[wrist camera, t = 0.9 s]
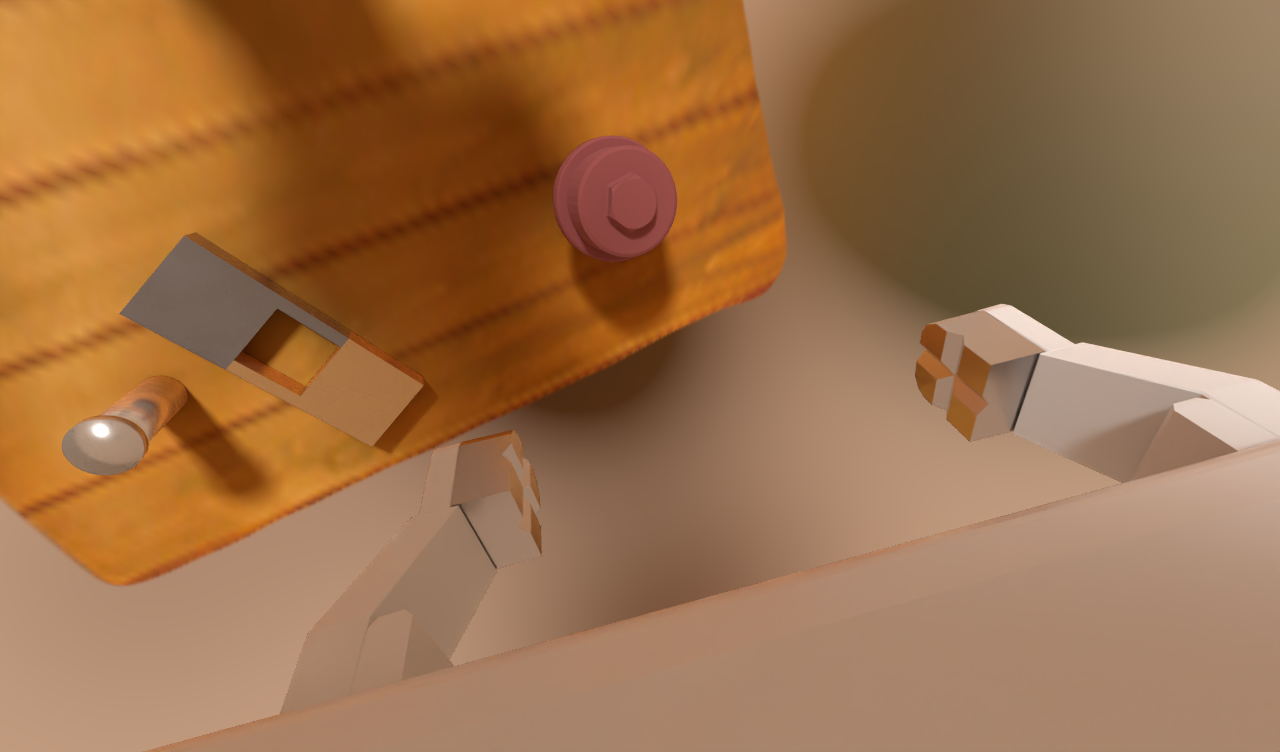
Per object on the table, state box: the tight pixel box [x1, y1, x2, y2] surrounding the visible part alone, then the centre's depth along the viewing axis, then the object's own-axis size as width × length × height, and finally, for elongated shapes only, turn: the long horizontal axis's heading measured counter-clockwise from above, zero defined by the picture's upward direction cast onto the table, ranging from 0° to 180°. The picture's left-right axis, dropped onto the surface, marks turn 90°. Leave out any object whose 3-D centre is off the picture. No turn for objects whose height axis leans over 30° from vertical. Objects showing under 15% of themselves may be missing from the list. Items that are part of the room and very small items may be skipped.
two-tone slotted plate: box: [120, 233, 424, 447], centre depth 44 cm, size 20×7×2 cm, turn 46°
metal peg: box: [62, 376, 188, 475], centre depth 39 cm, size 4×4×10 cm
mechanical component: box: [553, 136, 677, 262], centre depth 46 cm, size 12×10×10 cm
